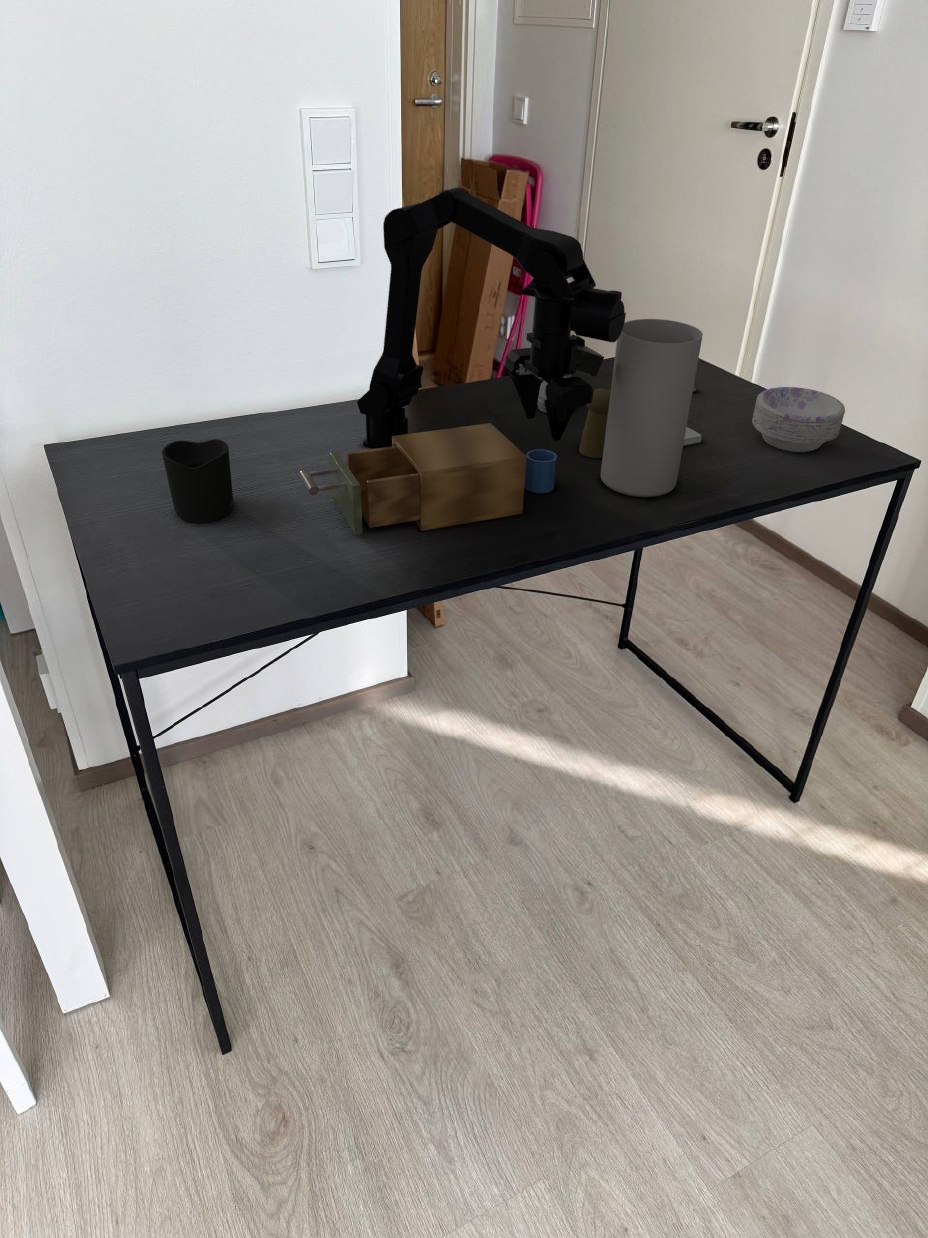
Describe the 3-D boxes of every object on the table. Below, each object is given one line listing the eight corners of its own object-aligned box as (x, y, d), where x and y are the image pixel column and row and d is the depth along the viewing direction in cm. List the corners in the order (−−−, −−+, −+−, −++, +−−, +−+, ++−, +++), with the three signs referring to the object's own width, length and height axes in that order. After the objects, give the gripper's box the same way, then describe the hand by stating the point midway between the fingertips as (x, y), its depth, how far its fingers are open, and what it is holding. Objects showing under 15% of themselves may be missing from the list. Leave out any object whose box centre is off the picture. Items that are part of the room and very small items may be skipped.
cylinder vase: (592, 491, 146) (610, 336, 132) (609, 461, 156) (627, 314, 142) (669, 504, 143) (696, 348, 129) (681, 473, 152) (707, 324, 138)
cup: (520, 490, 146) (523, 459, 142) (528, 478, 149) (530, 447, 146) (550, 495, 144) (553, 463, 141) (557, 482, 148) (560, 451, 145)
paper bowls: (786, 465, 156) (797, 422, 152) (731, 432, 168) (739, 391, 163) (852, 452, 162) (865, 410, 157) (795, 421, 173) (805, 381, 169)
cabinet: (421, 531, 134) (421, 471, 128) (393, 492, 144) (391, 435, 138) (522, 513, 139) (526, 456, 133) (488, 477, 149) (490, 422, 144)
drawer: (317, 541, 128) (313, 491, 124) (297, 503, 138) (293, 456, 133) (454, 518, 135) (455, 470, 131) (425, 483, 145) (426, 438, 140)
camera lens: (570, 404, 178) (574, 365, 173) (566, 416, 172) (569, 376, 168) (538, 401, 179) (541, 362, 174) (533, 412, 174) (536, 372, 169)
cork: (611, 459, 156) (619, 398, 150) (577, 456, 157) (583, 395, 151) (614, 446, 161) (621, 386, 155) (580, 442, 162) (586, 383, 156)
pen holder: (204, 531, 132) (194, 468, 126) (159, 514, 136) (147, 452, 130) (249, 506, 138) (241, 446, 133) (205, 491, 142) (196, 431, 137)
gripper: (631, 343, 128) (617, 445, 137) (570, 307, 142) (561, 402, 151) (561, 350, 124) (552, 454, 133) (506, 313, 139) (501, 410, 147)
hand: (543, 428), depth 141 cm, fingers open, 9 cm apart
